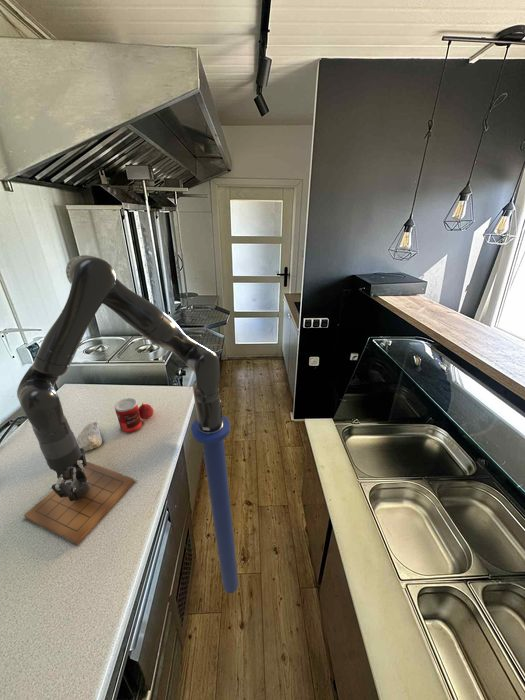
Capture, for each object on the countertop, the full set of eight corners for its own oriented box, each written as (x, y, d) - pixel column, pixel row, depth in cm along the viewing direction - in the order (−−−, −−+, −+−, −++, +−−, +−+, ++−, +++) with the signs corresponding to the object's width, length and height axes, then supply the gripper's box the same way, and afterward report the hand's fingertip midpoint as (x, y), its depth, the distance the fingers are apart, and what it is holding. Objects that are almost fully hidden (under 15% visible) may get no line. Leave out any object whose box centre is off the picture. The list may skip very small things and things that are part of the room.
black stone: (81, 482, 86) (78, 475, 85) (93, 487, 84) (90, 480, 83) (65, 496, 82) (62, 489, 80) (78, 502, 80) (74, 494, 79)
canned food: (127, 419, 117) (121, 397, 112) (146, 420, 116) (140, 398, 111) (117, 432, 110) (109, 409, 105) (136, 433, 109) (130, 410, 104)
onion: (157, 415, 119) (153, 399, 115) (150, 424, 114) (146, 408, 110) (144, 413, 120) (140, 398, 116) (136, 422, 114) (132, 406, 111)
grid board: (88, 464, 96) (86, 461, 95) (134, 482, 90) (133, 478, 89) (25, 518, 79) (23, 515, 79) (77, 545, 73) (75, 541, 72)
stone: (80, 459, 103) (73, 449, 95) (78, 428, 109) (71, 416, 101) (104, 452, 106) (98, 442, 98) (101, 422, 112) (95, 410, 104)
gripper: (63, 466, 70) (83, 512, 77) (86, 427, 82) (101, 469, 90) (29, 471, 69) (53, 516, 76) (58, 430, 81) (76, 472, 89)
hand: (79, 490), depth 83 cm, fingers closed on black stone, 5 cm apart
